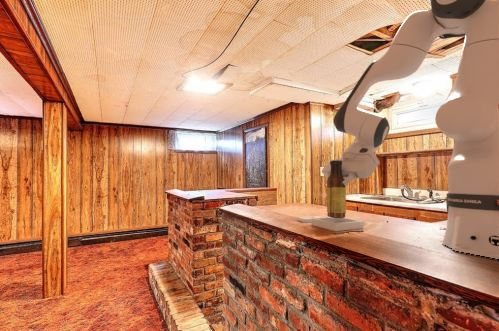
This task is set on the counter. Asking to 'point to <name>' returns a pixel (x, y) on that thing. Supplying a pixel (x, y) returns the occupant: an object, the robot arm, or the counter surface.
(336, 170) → the sauce bottle
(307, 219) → the tile
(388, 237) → the counter surface
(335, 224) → the bin
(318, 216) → the tile
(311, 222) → the slate board
